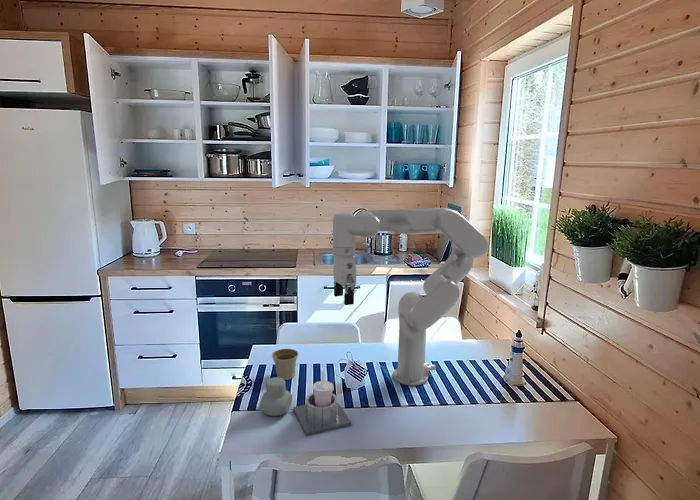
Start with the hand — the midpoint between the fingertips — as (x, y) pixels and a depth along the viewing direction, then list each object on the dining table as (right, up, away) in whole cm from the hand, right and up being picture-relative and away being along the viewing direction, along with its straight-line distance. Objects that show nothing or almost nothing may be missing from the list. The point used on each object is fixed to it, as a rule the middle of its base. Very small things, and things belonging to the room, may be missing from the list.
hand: (343, 300), depth 148 cm
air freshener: (-21, -34, -12) cm, 41 cm away
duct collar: (-6, -34, -15) cm, 38 cm away
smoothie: (-6, -33, -16) cm, 37 cm away
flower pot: (-21, -29, +10) cm, 37 cm away
